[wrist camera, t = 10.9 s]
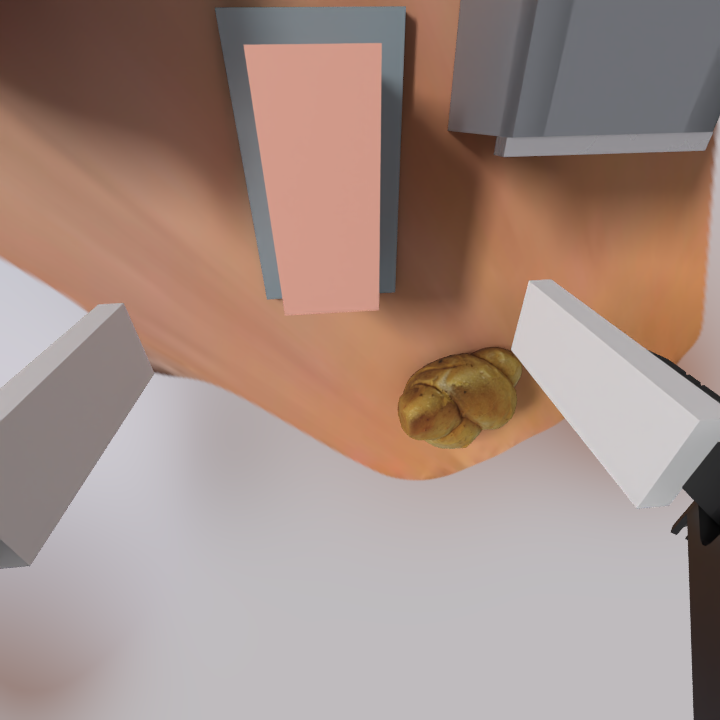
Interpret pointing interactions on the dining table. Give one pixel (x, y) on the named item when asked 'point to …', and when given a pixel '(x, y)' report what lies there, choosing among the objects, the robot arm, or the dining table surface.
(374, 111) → the salmon pink rectangular block
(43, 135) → the dining table surface
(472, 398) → the bread roll
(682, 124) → the box
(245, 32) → the mat
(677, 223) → the dining table surface
